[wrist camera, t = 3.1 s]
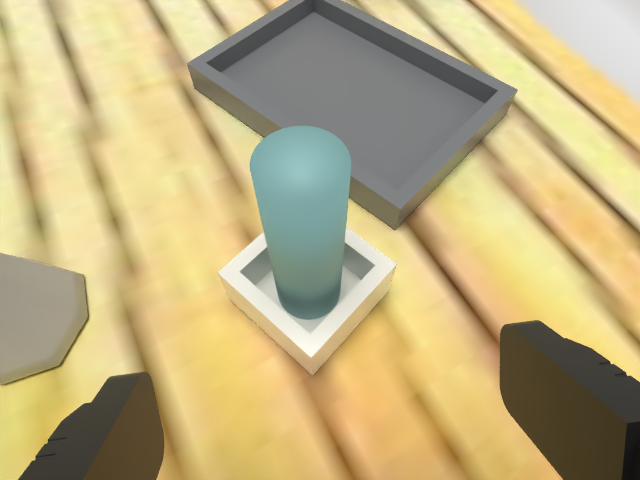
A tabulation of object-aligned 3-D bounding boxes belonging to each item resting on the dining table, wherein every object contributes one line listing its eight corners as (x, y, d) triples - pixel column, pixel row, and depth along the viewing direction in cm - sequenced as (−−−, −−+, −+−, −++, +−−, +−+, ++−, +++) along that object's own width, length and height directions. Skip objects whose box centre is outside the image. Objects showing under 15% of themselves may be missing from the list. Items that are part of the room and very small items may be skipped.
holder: (229, 299, 26) (217, 272, 23) (306, 228, 28) (304, 195, 25) (312, 376, 23) (311, 357, 20) (388, 291, 26) (396, 264, 23)
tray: (194, 88, 35) (186, 63, 33) (313, 10, 40) (312, -15, 38) (395, 230, 28) (400, 209, 26) (506, 114, 33) (517, 89, 31)
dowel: (264, 291, 25) (228, 165, 15) (307, 251, 26) (298, 111, 17) (310, 332, 24) (302, 222, 14) (353, 287, 25) (372, 159, 16)
